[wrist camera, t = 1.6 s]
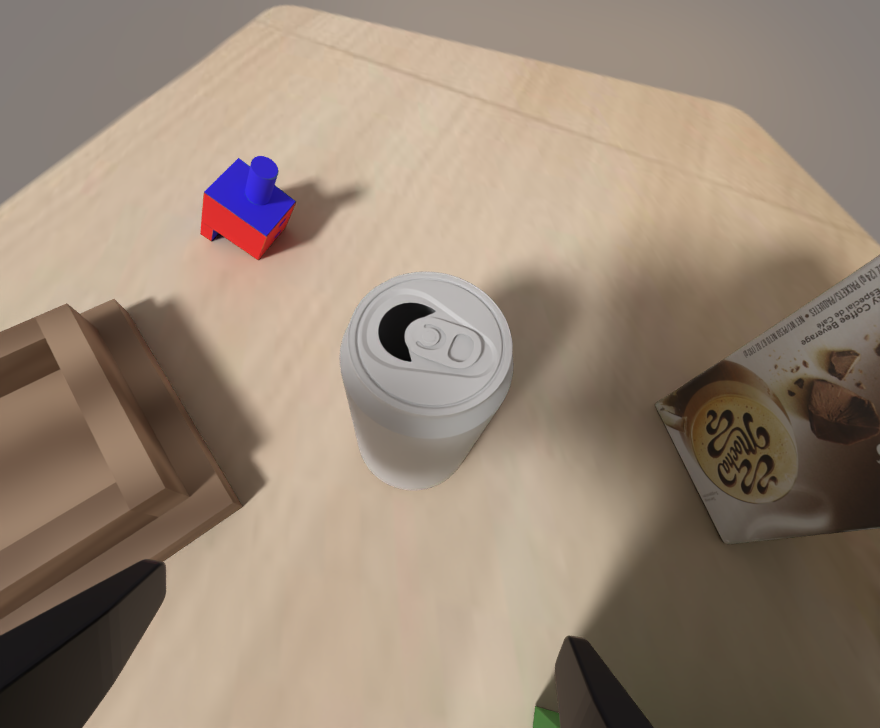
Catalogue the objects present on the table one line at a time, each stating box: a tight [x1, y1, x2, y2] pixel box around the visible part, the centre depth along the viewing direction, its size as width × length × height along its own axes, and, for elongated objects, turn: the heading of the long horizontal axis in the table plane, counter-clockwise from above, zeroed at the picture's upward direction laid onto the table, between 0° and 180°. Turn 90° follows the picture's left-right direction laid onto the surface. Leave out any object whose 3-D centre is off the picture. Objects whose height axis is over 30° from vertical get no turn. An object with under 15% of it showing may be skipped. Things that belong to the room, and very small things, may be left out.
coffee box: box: [655, 255, 880, 544], centre depth 19 cm, size 9×6×16 cm
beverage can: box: [340, 272, 513, 490], centre depth 19 cm, size 6×6×12 cm
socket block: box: [0, 299, 243, 635], centre depth 20 cm, size 15×15×4 cm
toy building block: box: [200, 156, 296, 260], centre depth 27 cm, size 4×4×8 cm
